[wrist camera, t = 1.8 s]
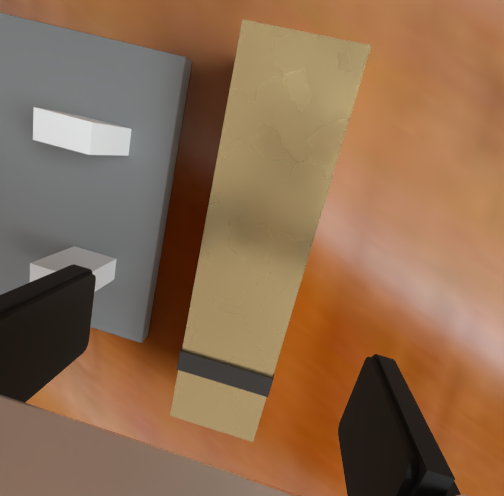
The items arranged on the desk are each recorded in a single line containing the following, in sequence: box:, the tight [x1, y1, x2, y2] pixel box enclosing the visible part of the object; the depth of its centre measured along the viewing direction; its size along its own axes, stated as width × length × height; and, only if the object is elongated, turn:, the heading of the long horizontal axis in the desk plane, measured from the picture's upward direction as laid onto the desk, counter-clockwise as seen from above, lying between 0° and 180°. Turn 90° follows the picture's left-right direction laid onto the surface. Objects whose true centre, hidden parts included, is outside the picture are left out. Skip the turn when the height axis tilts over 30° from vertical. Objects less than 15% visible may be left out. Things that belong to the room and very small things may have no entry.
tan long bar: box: [170, 19, 371, 442], centre depth 17 cm, size 20×5×5 cm, turn 167°
